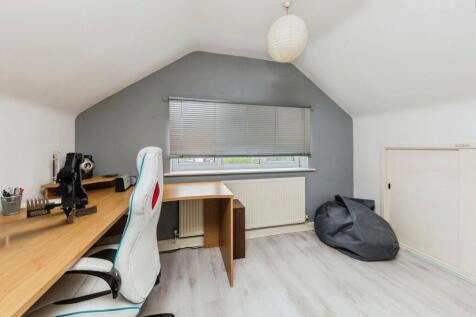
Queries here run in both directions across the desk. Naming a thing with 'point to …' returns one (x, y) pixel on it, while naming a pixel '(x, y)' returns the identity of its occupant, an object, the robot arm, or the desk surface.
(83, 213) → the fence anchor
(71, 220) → the fence gate
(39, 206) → the ammunition clip
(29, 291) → the desk surface
